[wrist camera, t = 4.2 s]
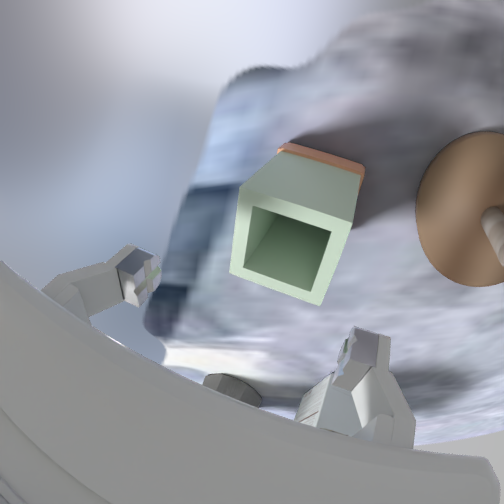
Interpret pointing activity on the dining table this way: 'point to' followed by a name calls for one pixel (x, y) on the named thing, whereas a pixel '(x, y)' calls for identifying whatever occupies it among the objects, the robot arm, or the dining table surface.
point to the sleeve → (295, 221)
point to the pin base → (465, 210)
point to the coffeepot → (233, 388)
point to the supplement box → (329, 408)
